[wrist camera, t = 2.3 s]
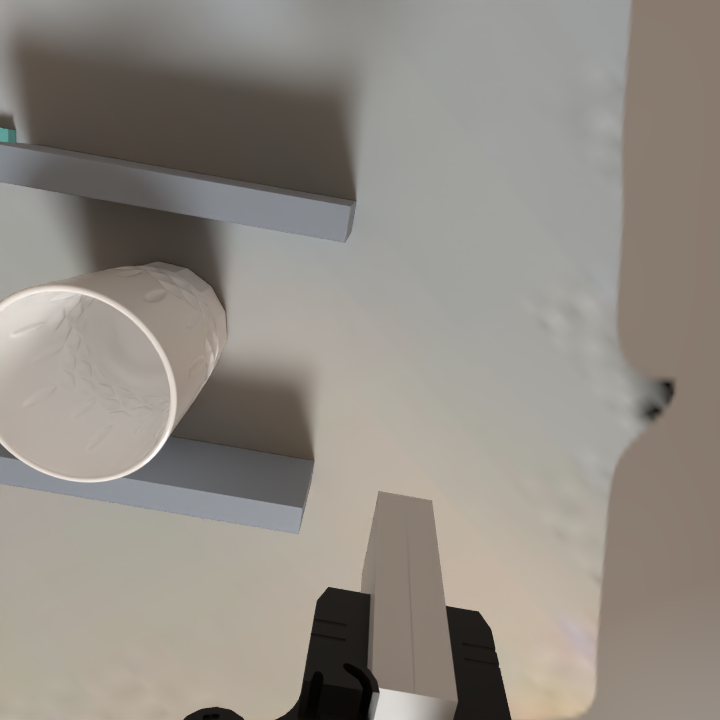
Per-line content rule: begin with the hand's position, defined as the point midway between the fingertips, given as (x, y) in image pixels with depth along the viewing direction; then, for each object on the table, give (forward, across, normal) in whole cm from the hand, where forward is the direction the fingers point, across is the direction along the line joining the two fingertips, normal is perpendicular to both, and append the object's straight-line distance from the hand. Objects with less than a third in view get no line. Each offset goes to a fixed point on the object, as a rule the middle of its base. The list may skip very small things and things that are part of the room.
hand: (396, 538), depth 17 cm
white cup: (+16, -12, 0) cm, 20 cm away
